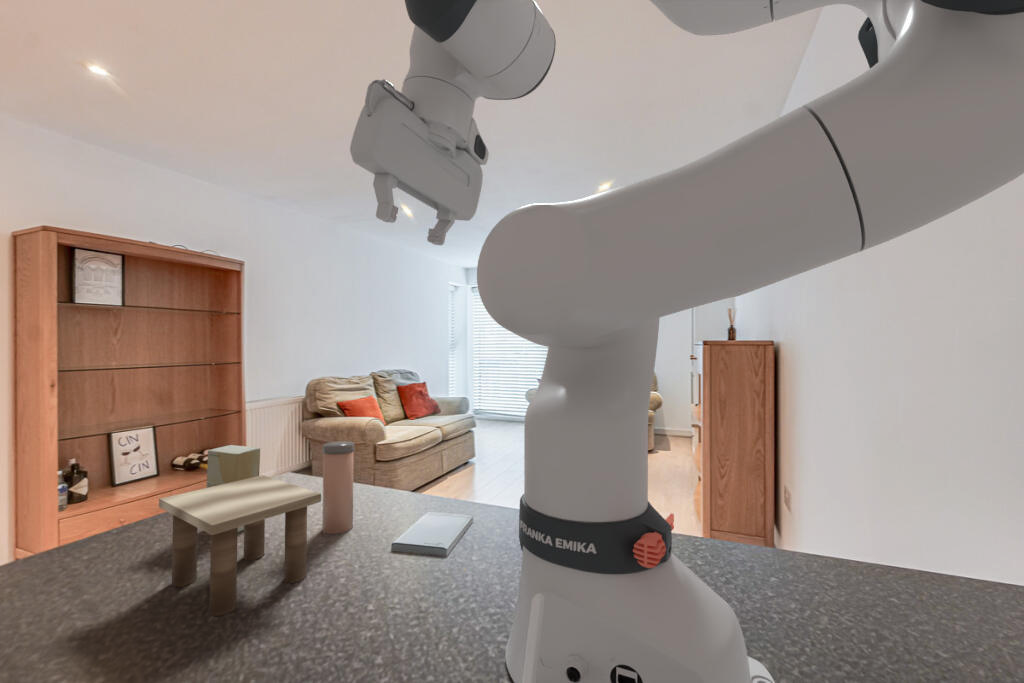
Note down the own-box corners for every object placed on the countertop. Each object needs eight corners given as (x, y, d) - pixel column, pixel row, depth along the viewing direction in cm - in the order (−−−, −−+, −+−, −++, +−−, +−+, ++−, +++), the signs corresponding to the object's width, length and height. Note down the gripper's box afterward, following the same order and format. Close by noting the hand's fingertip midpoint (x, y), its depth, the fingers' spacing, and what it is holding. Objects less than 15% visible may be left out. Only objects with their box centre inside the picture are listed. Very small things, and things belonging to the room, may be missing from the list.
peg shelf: (320, 575, 55) (321, 493, 55) (210, 625, 45) (212, 525, 45) (261, 546, 62) (262, 475, 63) (157, 583, 53) (159, 498, 53)
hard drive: (447, 547, 60) (473, 514, 72) (391, 542, 62) (425, 510, 74) (447, 560, 60) (473, 524, 72) (390, 554, 62) (425, 520, 74)
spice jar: (359, 526, 70) (360, 443, 70) (333, 536, 66) (334, 448, 66) (341, 520, 72) (342, 440, 73) (315, 529, 68) (316, 444, 69)
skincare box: (203, 529, 68) (204, 449, 69) (228, 519, 73) (230, 444, 73) (235, 535, 66) (237, 452, 67) (260, 524, 71) (261, 446, 71)
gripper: (396, 65, 44) (369, 203, 44) (495, 158, 62) (475, 256, 62) (350, 71, 47) (325, 201, 47) (458, 159, 65) (439, 252, 65)
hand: (412, 233), depth 55 cm, fingers open, 8 cm apart
